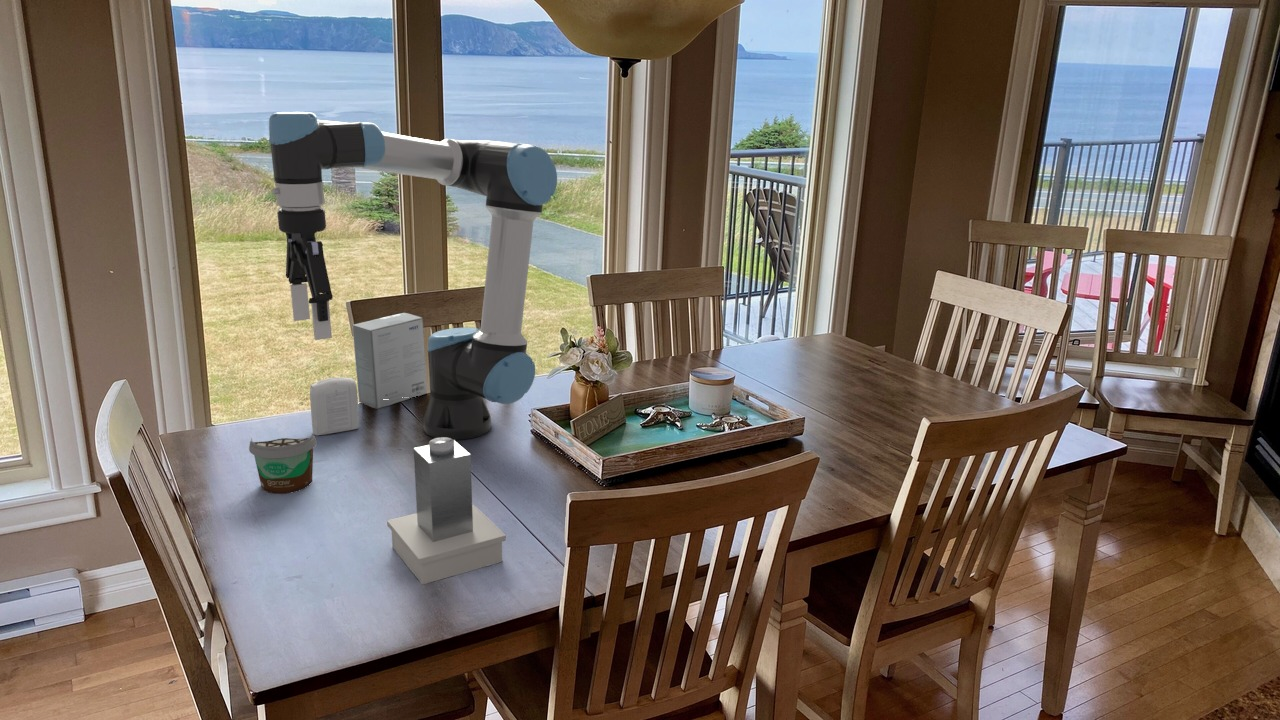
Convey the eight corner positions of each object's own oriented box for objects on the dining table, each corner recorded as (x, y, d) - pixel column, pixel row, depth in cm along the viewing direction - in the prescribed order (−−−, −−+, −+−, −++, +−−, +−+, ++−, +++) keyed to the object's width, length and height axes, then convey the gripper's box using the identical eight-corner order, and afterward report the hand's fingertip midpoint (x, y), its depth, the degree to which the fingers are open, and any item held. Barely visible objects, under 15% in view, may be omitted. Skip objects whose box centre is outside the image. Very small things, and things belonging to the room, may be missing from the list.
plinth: (469, 525, 165) (469, 500, 163) (506, 561, 153) (505, 535, 152) (388, 546, 157) (387, 520, 155) (420, 586, 145) (419, 559, 144)
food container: (249, 499, 172) (243, 450, 169) (253, 485, 178) (248, 438, 175) (318, 493, 175) (314, 445, 172) (320, 479, 181) (316, 433, 178)
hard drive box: (409, 387, 234) (405, 311, 228) (428, 394, 230) (425, 317, 223) (357, 402, 223) (351, 323, 217) (375, 410, 218) (370, 329, 212)
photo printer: (356, 423, 210) (352, 372, 206) (362, 429, 206) (358, 377, 203) (310, 431, 204) (305, 379, 201) (315, 438, 201) (311, 385, 197)
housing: (456, 514, 158) (453, 431, 153) (473, 531, 152) (470, 445, 148) (417, 524, 154) (413, 439, 150) (433, 542, 149) (428, 453, 144)
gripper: (260, 198, 161) (272, 315, 168) (297, 220, 142) (309, 350, 148) (304, 196, 165) (314, 309, 172) (345, 216, 146) (355, 343, 152)
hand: (312, 329), depth 160 cm, fingers open, 13 cm apart
